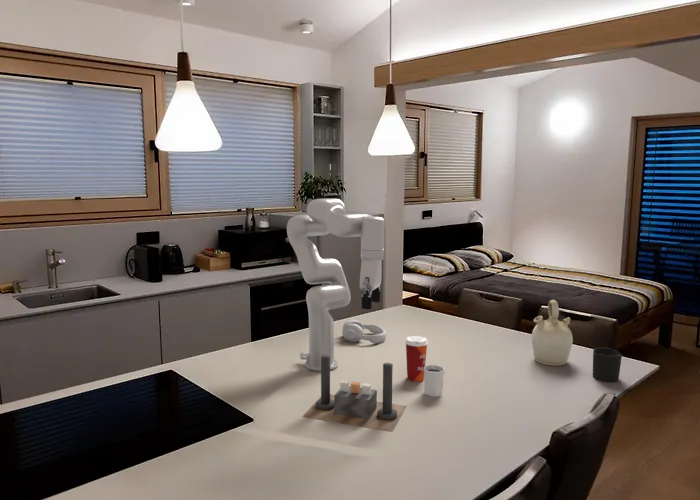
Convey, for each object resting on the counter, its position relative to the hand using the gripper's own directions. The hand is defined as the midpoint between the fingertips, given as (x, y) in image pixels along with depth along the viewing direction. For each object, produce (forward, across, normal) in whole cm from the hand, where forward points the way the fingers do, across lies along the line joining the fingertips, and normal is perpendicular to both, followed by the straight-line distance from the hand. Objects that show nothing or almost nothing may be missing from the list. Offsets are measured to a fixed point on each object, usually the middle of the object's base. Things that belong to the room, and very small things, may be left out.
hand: (371, 305), depth 177 cm
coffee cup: (+31, -18, +12) cm, 38 cm away
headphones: (+32, -56, -20) cm, 68 cm away
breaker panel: (+30, +18, +1) cm, 35 cm away
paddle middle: (+23, +18, +1) cm, 29 cm away
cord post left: (+29, +18, -9) cm, 35 cm away
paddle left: (+23, +18, -2) cm, 29 cm away
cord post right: (+29, +18, +11) cm, 36 cm away
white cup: (+31, -4, +21) cm, 37 cm away
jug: (+31, -55, +59) cm, 86 cm away
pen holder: (+30, -43, +78) cm, 94 cm away
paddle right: (+23, +18, +5) cm, 30 cm away
